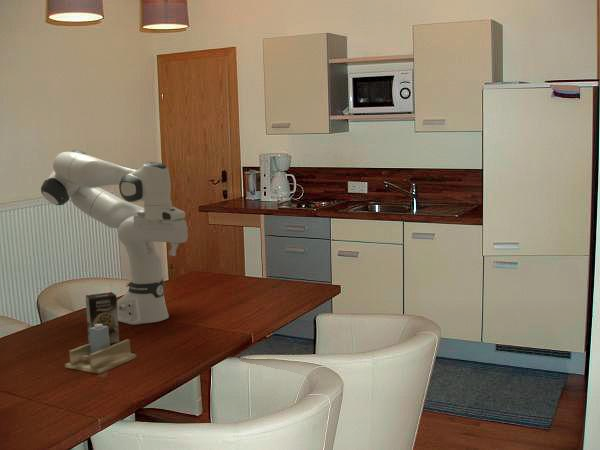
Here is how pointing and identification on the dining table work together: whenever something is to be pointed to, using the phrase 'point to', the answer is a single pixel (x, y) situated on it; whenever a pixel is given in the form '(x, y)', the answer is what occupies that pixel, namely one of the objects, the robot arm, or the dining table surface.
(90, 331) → the block
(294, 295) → the dining table surface
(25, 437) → the dining table surface
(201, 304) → the dining table surface
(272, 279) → the dining table surface
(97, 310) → the coffee box
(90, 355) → the beige ladder rack
